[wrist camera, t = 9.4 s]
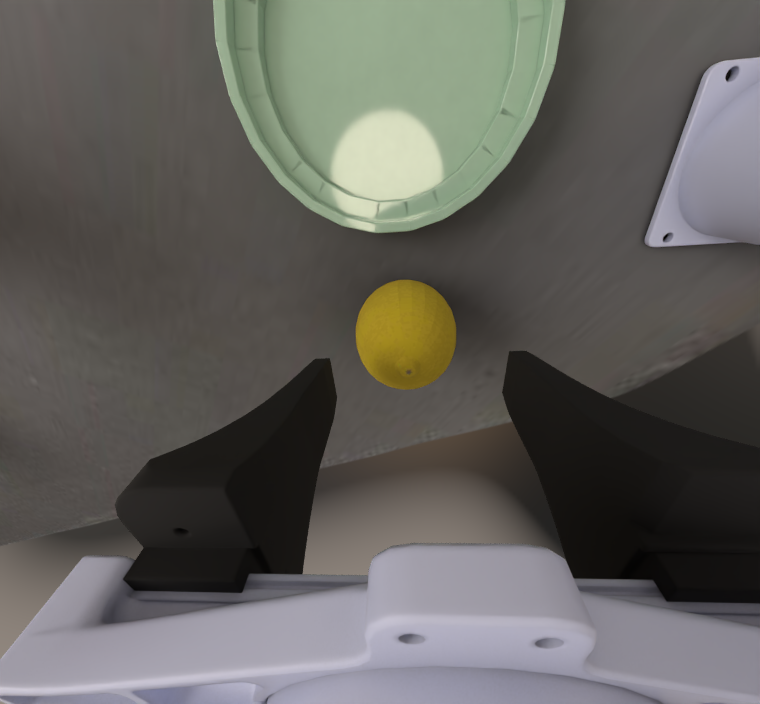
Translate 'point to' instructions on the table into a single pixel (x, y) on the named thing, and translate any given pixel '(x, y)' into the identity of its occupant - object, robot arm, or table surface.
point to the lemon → (406, 334)
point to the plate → (387, 98)
